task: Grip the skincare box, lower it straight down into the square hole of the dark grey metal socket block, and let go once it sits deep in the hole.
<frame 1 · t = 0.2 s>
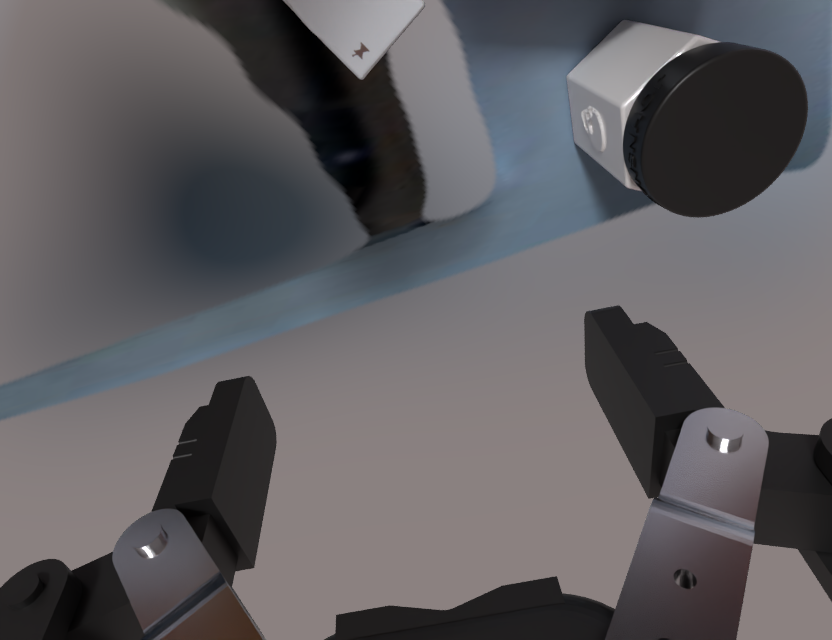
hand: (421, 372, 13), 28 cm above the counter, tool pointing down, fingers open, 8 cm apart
jar: (625, 91, 37), on the counter
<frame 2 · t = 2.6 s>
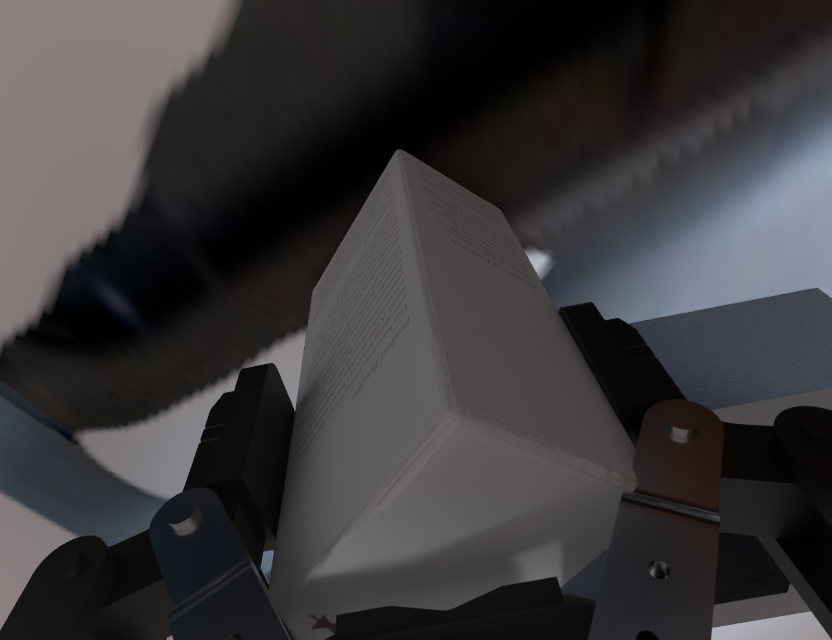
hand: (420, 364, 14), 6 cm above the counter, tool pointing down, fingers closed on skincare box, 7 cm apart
skincare box: (406, 246, 19), on the counter, touching gripper
socket block: (628, 447, 25), on the counter
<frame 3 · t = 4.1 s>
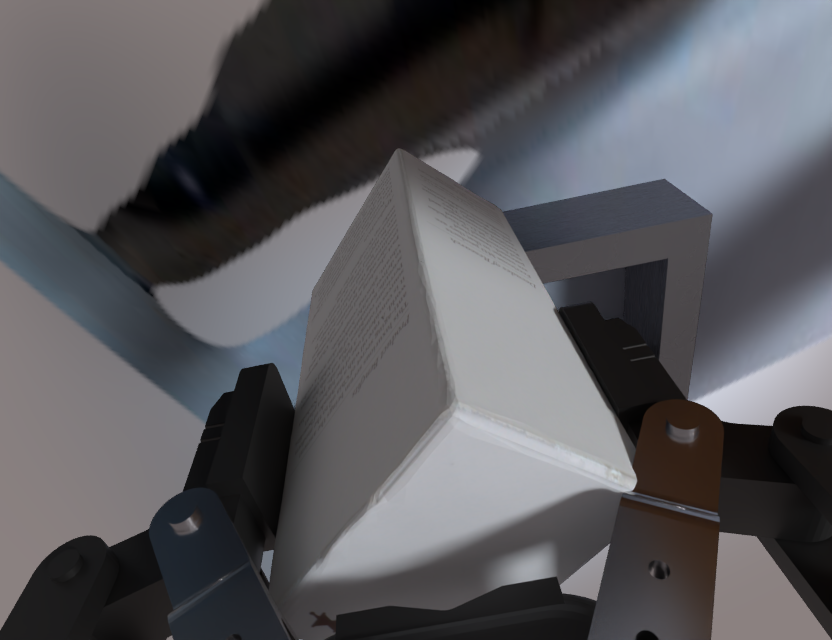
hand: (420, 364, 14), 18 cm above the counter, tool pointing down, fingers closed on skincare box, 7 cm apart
skincare box: (406, 245, 19), point 11 cm above the counter, touching gripper
socket block: (546, 306, 35), on the counter
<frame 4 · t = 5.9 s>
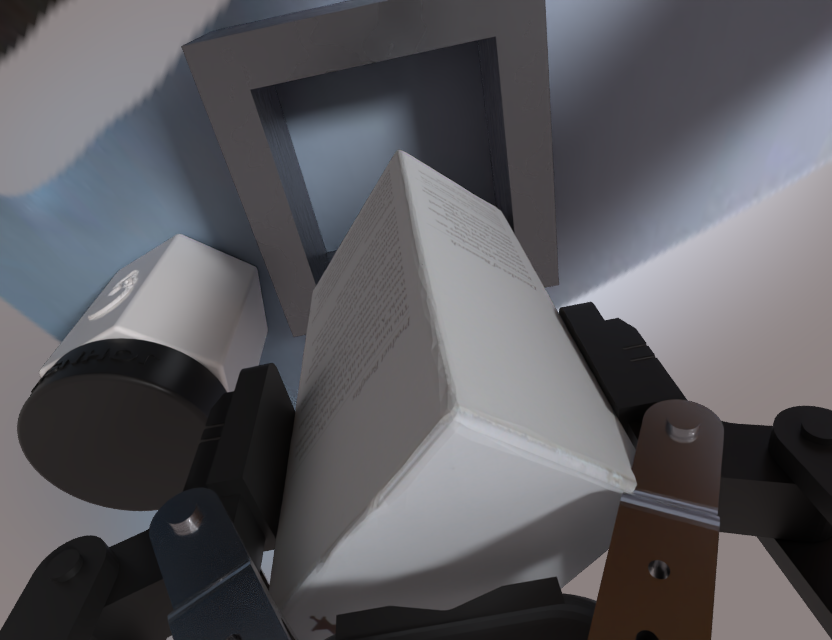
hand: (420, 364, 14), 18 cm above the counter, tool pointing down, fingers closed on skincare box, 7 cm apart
skincare box: (406, 246, 19), point 12 cm above the counter, touching gripper
jar: (198, 299, 33), on the counter
socket block: (393, 149, 29), on the counter
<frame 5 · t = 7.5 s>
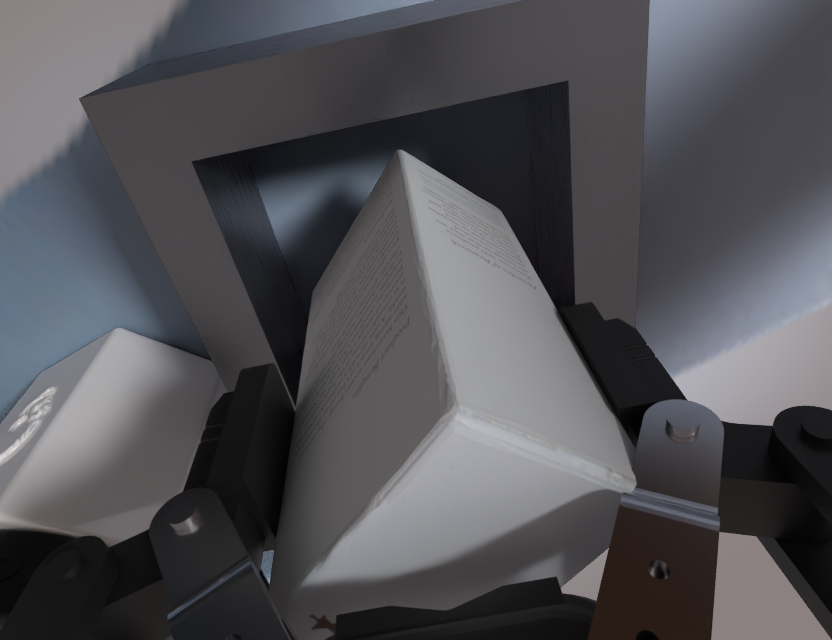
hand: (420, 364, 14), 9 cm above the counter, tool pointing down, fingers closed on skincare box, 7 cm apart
skincare box: (406, 246, 19), point 3 cm above the counter, touching gripper
jar: (149, 402, 26), on the counter
socket block: (404, 219, 21), on the counter
when the fingers open (8 cm above the counter, at t = 9.1 s): skincare box drops 1 cm, resting in socket block.
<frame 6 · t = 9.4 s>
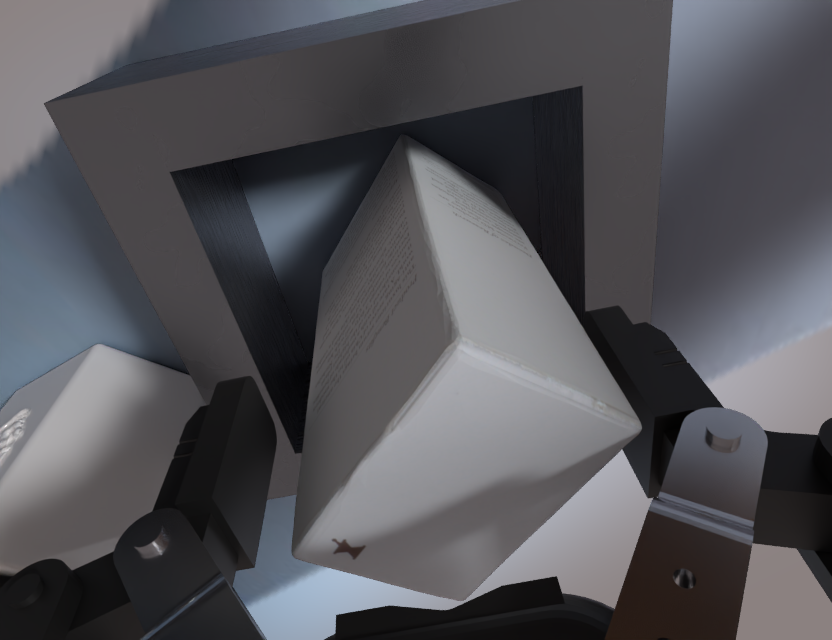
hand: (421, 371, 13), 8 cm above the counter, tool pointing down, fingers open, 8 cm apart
skincare box: (410, 227, 20), resting in socket block
jar: (132, 420, 24), on the counter
socket block: (402, 231, 20), on the counter
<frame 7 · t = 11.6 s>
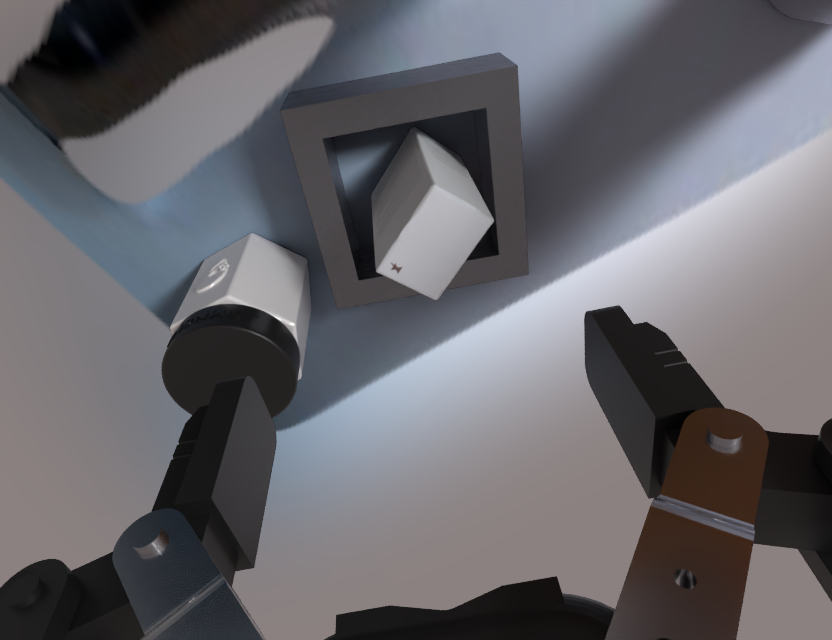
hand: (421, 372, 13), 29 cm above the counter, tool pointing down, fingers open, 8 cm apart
skincare box: (415, 173, 40), resting in socket block
jar: (260, 282, 44), on the counter
socket block: (411, 175, 40), on the counter
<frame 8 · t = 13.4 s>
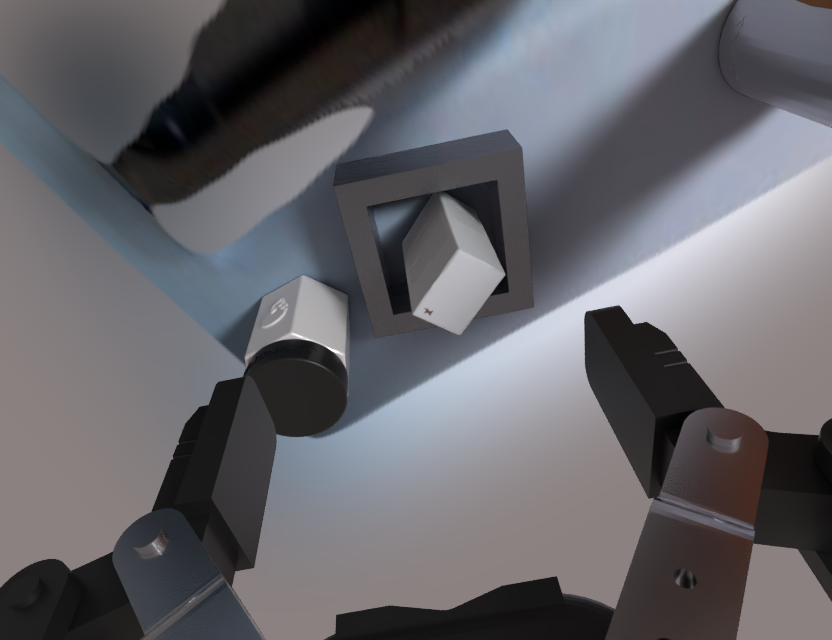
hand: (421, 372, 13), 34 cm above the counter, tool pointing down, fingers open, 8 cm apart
skincare box: (438, 224, 48), resting in socket block
jar: (308, 314, 52), on the counter
socket block: (435, 226, 48), on the counter
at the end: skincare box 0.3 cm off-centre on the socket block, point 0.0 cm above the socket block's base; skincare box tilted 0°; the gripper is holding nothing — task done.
